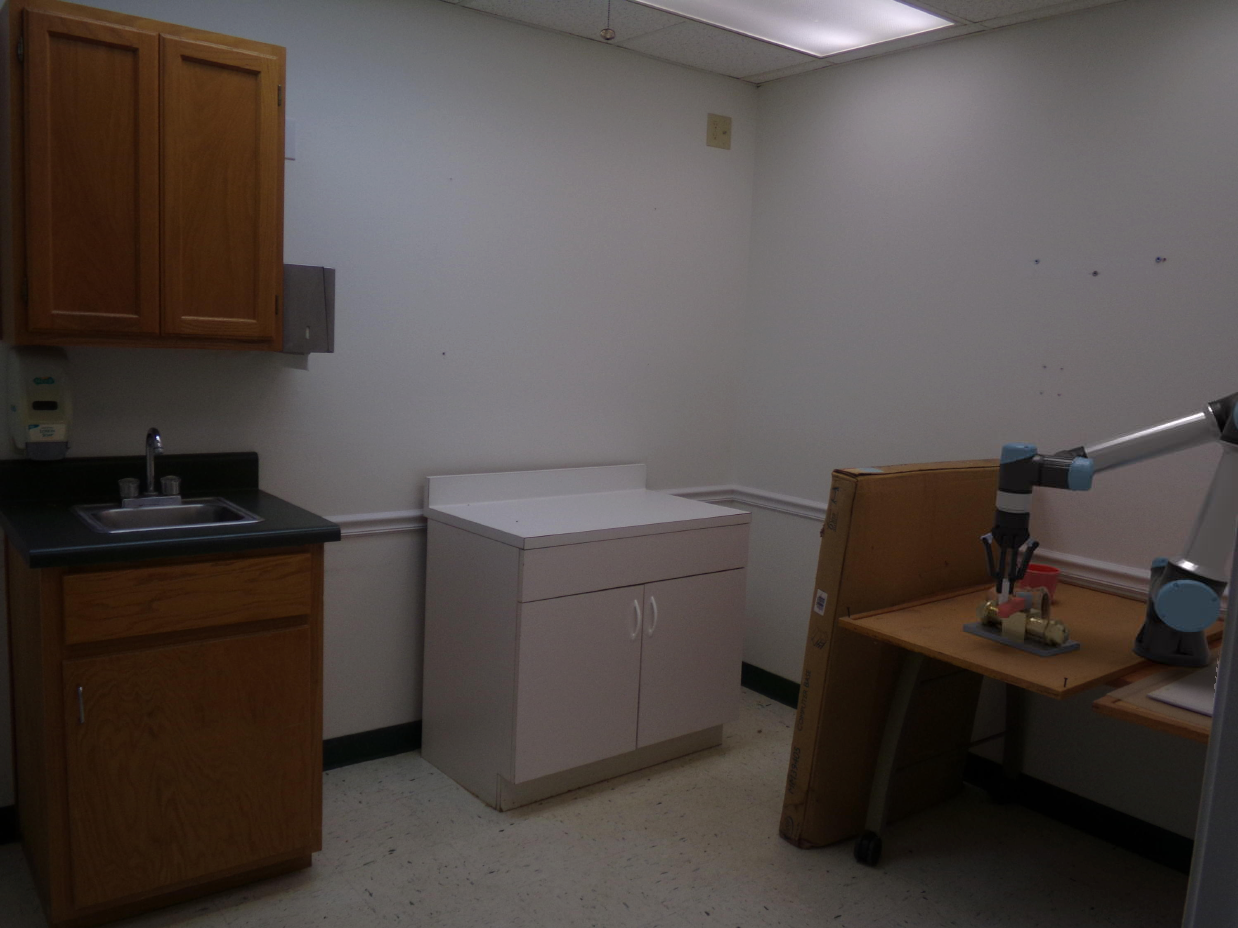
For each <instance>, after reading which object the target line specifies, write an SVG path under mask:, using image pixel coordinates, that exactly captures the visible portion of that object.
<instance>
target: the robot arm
mask: <svg viewBox="0 0 1238 928" xmlns="http://www.w3.org/2000/svg"><path fill="white" fill-rule="evenodd" d="M1213 442H1215V443H1217V444H1220V446H1221V447H1222V449H1223V450H1222V451H1223V452H1222V453H1221V456H1220V459H1219V461H1218V464H1217V466H1216V468H1215V471H1214V473H1213V474H1212V477H1211V479H1210V481H1209V484H1208V487H1207V489H1206V491H1205V494H1204V496H1203V499H1202V501H1201V503H1200V505H1199V508H1198V510H1197V513H1196V516H1195V518H1194V520H1193V522H1192V524H1191V527H1190V530H1189V531H1188V535H1187V536H1186V539H1185V542H1184V543H1183V546H1182V548H1181V550H1180V553H1179V554H1177V555H1175V556H1172V557H1162V556H1161V557H1159V556H1158V557H1155V558H1153V560H1152V562H1151V566H1150V568H1149V569H1150V578H1149V587H1148V592H1147V594H1148V595H1147V603H1146V612H1145V620H1144V621H1143V623H1142V625H1141V627H1140V629H1139V631H1138V633H1137V635H1136V636H1135V639H1134V641H1133V652H1134V653H1135V654H1137V655H1139V656H1141V657H1143V658H1145V659H1148V660H1151V661H1155V662H1158V663H1161V664H1162V663H1163V664H1167V665H1172V666H1178V667H1187V668H1188V667H1189V668H1190V667H1192V668H1195V667H1196V668H1197V667H1198V668H1199V667H1205V666H1208V665H1209V664H1210V656H1211V655H1210V647H1209V645H1208V641H1207V637H1206V633H1205V630H1207V629H1208V628H1211V626H1213V625H1214V624H1215V622H1217V620H1218V619H1219V617H1220V614H1221V608H1222V606H1221V605H1222V604H1221V600H1222V597H1223V595H1224V594H1225V591H1226V588H1227V586H1228V583H1229V582H1230V578H1229V577H1228V574H1227V572H1226V566H1227V564H1228V562H1229V560H1230V558H1231V555H1232V554H1233V551H1234V549H1233V547H1234V539H1235V527H1236V517H1237V514H1238V391H1236V392H1234V393H1232V394H1229V395H1227V396H1224V397H1222V398H1219V399H1216V400H1213V401H1210V402H1206V403H1204V406H1203V407H1202V408H1201V409H1199V410H1196V411H1193V412H1190V413H1189V412H1188V413H1186V414H1183V415H1179V416H1177V417H1173V418H1170V419H1167V420H1162V421H1159V422H1156V423H1154V424H1149V425H1147V426H1143V427H1139V428H1137V429H1134V430H1130V431H1126V432H1123V433H1120V434H1116V435H1113V436H1110V437H1107V438H1103V439H1100V440H1097V441H1093V442H1089V443H1087V444H1084V445H1080V446H1077V447H1073V448H1070V449H1067V450H1066V449H1062V450H1059V451H1057V452H1055V453H1054V454H1041V453H1038V447H1037V445H1035V444H1030V443H1025V442H1024V443H1023V442H1007V443H1004V445H1003V446H1002V447H1001V454H1000V459H999V466H998V467H999V468H998V479H997V491H996V500H995V507H997V508H995V510H994V517H993V518H994V519H993V527H992V528H991V529H990V533H987V534H985V535H984V534H982V535H980V536H979V538H980V541H981V543H982V544H983V546H984V552H985V558H986V563H987V570H988V574H989V576H990V577H991V578H993V579H995V580H996V583H995V586H996V592H997V593H998V594H1000V596H999V604H1003V603H1005V602H1007V601H1008V594H1009V595H1012V594H1013V590H1014V589H1015V582H1016V581H1019V580H1023V578H1024V576H1025V573H1026V570H1027V568H1028V565H1029V563H1030V562H1031V561H1032V558H1033V555H1034V552H1035V551H1036V550H1037V549H1038V548H1039V547H1040V542H1039V541H1038V540H1037V539H1034V538H1032V537H1031V533H1030V531H1029V528H1030V518H1031V513H1030V512H1029V511H1030V510H1032V499H1033V489H1034V487H1037V488H1040V487H1042V488H1048V489H1056V490H1057V489H1059V490H1067V491H1072V492H1077V491H1078V492H1079V491H1080V492H1088V491H1090V490H1091V489H1092V486H1093V479H1094V476H1096V475H1100V474H1103V473H1104V474H1105V473H1107V472H1111V471H1114V470H1118V469H1121V468H1122V469H1123V468H1125V467H1128V466H1132V465H1135V464H1139V463H1140V464H1141V463H1142V462H1146V461H1150V460H1153V459H1157V458H1161V457H1164V456H1167V455H1172V454H1174V453H1178V452H1181V451H1185V450H1188V449H1192V448H1195V447H1200V446H1203V445H1206V444H1210V443H1213ZM993 539H994V541H995V543H996V544H997V546H998V555H997V556H998V557H997V558H998V559H997V567H996V568H997V569H995V561H994V556H993V550H992V546H991V544H992V542H993ZM1024 544H1026V546H1027V547H1026V548H1025V551H1024V553H1023V556H1022V559H1021V561H1020V564H1019V565H1020V566H1019V565H1018V557H1019V556H1018V555H1019V552H1020V550H1019V549H1020V548H1021V547H1022V546H1023V545H1024ZM1234 548H1235V547H1234ZM1008 549H1010V550H1009V562H1008V573H1007V578H1004V577H1005V568H1006V558H1007V554H1008V553H1007V552H1008ZM1017 565H1018V567H1017ZM1228 581H1229V582H1228Z"/></svg>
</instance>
